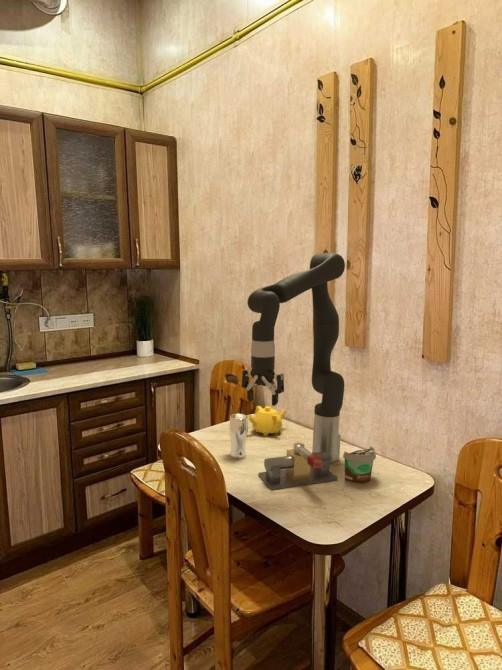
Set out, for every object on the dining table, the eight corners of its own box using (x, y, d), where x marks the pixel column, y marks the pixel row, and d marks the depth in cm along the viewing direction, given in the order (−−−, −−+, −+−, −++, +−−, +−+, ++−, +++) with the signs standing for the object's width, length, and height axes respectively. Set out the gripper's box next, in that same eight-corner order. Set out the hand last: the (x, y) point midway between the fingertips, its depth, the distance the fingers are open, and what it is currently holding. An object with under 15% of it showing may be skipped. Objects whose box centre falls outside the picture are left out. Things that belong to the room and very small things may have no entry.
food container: (353, 487, 150) (355, 458, 149) (341, 480, 156) (343, 451, 154) (382, 480, 156) (384, 452, 155) (369, 473, 161) (371, 446, 160)
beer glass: (245, 459, 170) (246, 420, 168) (226, 457, 171) (227, 418, 169) (248, 452, 177) (250, 414, 175) (231, 450, 178) (232, 412, 176)
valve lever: (291, 450, 156) (291, 443, 156) (301, 449, 157) (301, 442, 157) (312, 468, 142) (312, 460, 142) (322, 467, 144) (323, 459, 143)
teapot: (274, 422, 212) (274, 398, 211) (298, 434, 197) (299, 409, 196) (236, 429, 202) (236, 404, 200) (259, 443, 187) (259, 416, 185)
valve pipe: (321, 466, 166) (322, 442, 164) (337, 480, 155) (338, 454, 154) (258, 475, 157) (259, 450, 156) (270, 490, 147) (271, 463, 146)
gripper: (288, 354, 147) (287, 403, 150) (249, 350, 155) (249, 397, 157) (277, 358, 141) (276, 410, 143) (237, 353, 148) (237, 402, 151)
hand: (262, 403), depth 150 cm, fingers open, 8 cm apart
